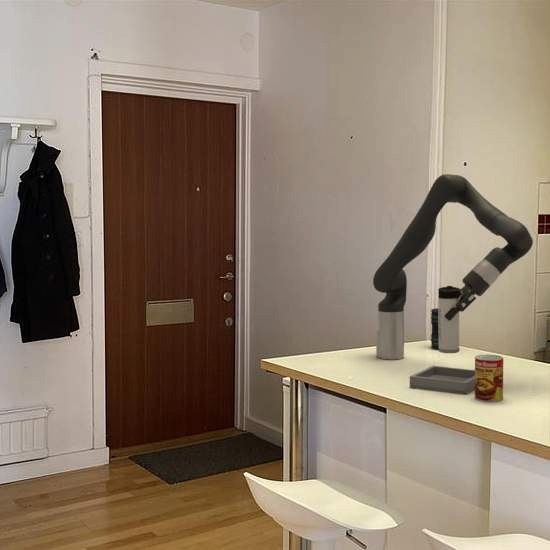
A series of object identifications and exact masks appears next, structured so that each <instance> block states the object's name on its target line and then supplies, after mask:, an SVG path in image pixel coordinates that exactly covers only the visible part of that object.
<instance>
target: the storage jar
mask: <svg viewBox="0 0 550 550" xmlns="http://www.w3.org/2000/svg"><path fill="white" fill-rule="evenodd" d="M430 311H431V313H430V314H431V316H430V319H431V320H430V324H431V335H430V337H431V338H430V342H431V343H430V344H431V346H430V347H431V350H435V351H439V329H438V308H431V310H430Z"/></svg>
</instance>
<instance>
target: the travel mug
mask: <svg viewBox="0 0 550 550" xmlns="http://www.w3.org/2000/svg"><path fill="white" fill-rule="evenodd" d="M459 289H460V288H459V287H457V286H453V285H446V286H443V287H440V288H438V293H437V294H438V298H437V299H438V301H437V302H438V303H437V307H438V329H439V350H438V352H439V353H444V354H457V353H459V352H460V312H458V313H457V314H456V315H455V316H454V317H453V318H452V319H451V320H450V321H449V320H447V319H446V318H445V314H446V313H447V312H448V311H449V310H450V309H451V308H452V307H453V306H454V304H455V303H456V299H457V298H458V296H459ZM453 308H454V307H453Z"/></svg>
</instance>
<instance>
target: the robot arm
mask: <svg viewBox="0 0 550 550" xmlns="http://www.w3.org/2000/svg"><path fill="white" fill-rule="evenodd" d="M431 185H432V186H431V187H430V190H429V191H428V193H427V195H426V198H425V199H424V201H423V203H422V205H421V206H420V207H419V209H418V211H417V213H416V214H415V216H414V217H413V219H412V220H411V222H410V223H409V224H408V226H407V227H406V229H405V230H404V233H403V234H402V235H401V237H400V239H399V240H398V242H397V243H396V245H395V246H394V247H393V249H392V251H391V253H390V254H389V255H388V256H387V257H386V258H385V260H384V261H383V262H382V263H381V264H380V266H379V267H378V268H377V269H376V271H375V273H374V275H373V278H372V279H373V280H372V285H373V288H374V289H375V291H377V292H379V293H381V294H385V296H384V298H383V299H382V300H381V301H379V302H378V306H377V312H378V313H377V314H378V316H377V317H378V320H377V321H378V323H377V324H378V327H377V328H378V330H376V333H375V337H376V339H375V340H376V341H375V344H376V345H375V346H376V347H375V348H376V349H375V351H376V352H375V353H376V354H375V355H376V358H378V359H383V360H401V359H404V358H405V318H404V316H405V311H404V310H405V309H404V308H405V305H406V303H407V286H408V283H407V282H408V280H407V274H406V272H405V270H404V268H405V267H406V266H407V265H408V264H410V263H411V262H412V261H413V260H414V259H416V258H418V257H419V256H420V255H421V254H422V253H423V252H424V251H425V250H426V249H427V247H428V246H429V244H430V243H431V241H432V240H433V238H434V236H435V233H436V226H437V217H438V215H439V214H440V212H441V211H442V210H443V208H444V206H445V205H446V204H447V203H454V204H456V203H457V204H460V205H462V206H464V207H466V208H468V209H469V210H470V211H471V213H473V216H474V217H475V218H476V220H477V222H478V223H479V224H480V225H482V226H483V227H484V228H485V229H487V231H489V232H490V233H492V234H493V235H495V236H497V237H501V238H502V239H504V240H505V242H506V243H507V244H506V245H505V246H503V247H502V248H500V247H494V248H493V249H491V250H490V252H488V253H487V255H486V256H484V258H483V259H481V260H480V261H479V262H478V263H477V264H476V265H475V266H474V267H473V268H472V269H471V270H470V271H469V272H468V273H467V274H465V276H464V277H463V278H462V283H463V284H464V286H463V287H462V288H459V296H458V298H457V299H456V303H455V304H454V306H453V307H454V308H453V307H452V308H451V309H450V310H449V311H448V312H447V313H446V314H445V318H446V319H447V320H449V321H450V320H451V319H452V318H453V317H454V316H455V315H456V314H457V313H458V312H459V313H463V312H464V311H465V310H466V309H467V308H468V307H469V306H470V305H471V304H473V302H474V301H475V300H476V299H477V297H482V296H483V295H484V294H485V293H486V292H487V290H488V289H490V288H491V286H493V284H494V283H495V282H496V281H497V280H498V278H499V277H500V276H501V275H502V274H503V273H504V271H506V269H508V267H509V266H510V265H512V264H514V263H515V262H517V261H518V260H520V259H521V258H523V257H524V256H525V255H526V254H528V253H529V251H530V250H531V248H532V246H533V243H534V240H533V238H532V236H531V234H530V231H529V229H528V228H527V227H526V226H525V225H524V224H523V223H522V222H520V221H518V220H517V219H515V218H512V217H510V216H508V215H507V214H506V213H504V212H503V211H502V210H501V209H499V208H498V207H496V206H495V205H493V204H492V203H491V202H490V201H488V199H486V198H485V197H484V196H483V195H482V194H481V193H480V192H479V191H478V190H477V189H476V188H475V187H474V186H473V185H472V184H471V182H470V181H469V180H468V179H466V177H464V176H462V175H460V174H450V173H447V174H446V173H445V174H441V175H439V176H438V177H437V178H436V179H435V180H434V182H433V184H431ZM475 295H476V296H477V297H476V296H475Z"/></svg>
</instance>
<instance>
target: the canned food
mask: <svg viewBox="0 0 550 550" xmlns="http://www.w3.org/2000/svg"><path fill="white" fill-rule="evenodd" d="M474 370H475V390H474V400H475V399H476V400H477V401H481V402H489V403H491V402H500V401H502V400H503V399H504V357H503V356H501V355H498V354H478V355H477V354H476V355H475V356H474Z"/></svg>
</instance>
